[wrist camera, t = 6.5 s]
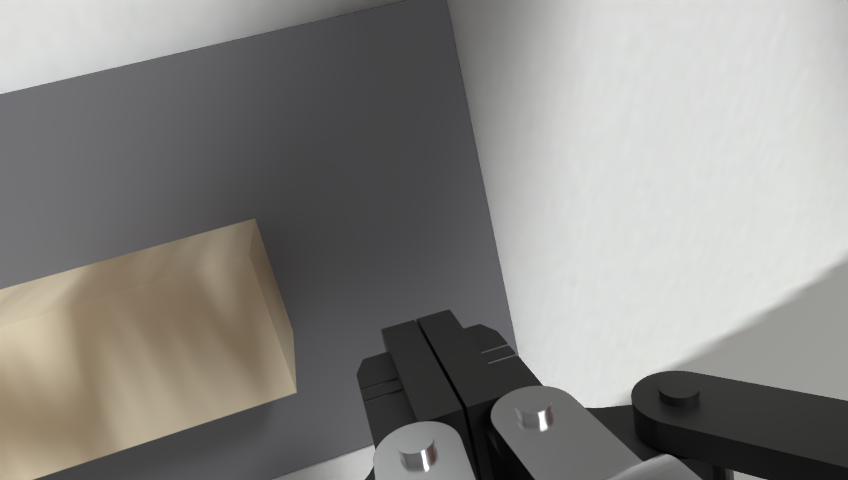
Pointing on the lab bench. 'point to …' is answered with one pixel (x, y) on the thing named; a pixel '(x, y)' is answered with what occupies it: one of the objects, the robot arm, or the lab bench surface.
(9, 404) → the bar
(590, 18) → the lab bench surface
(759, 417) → the robot arm
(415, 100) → the mat
